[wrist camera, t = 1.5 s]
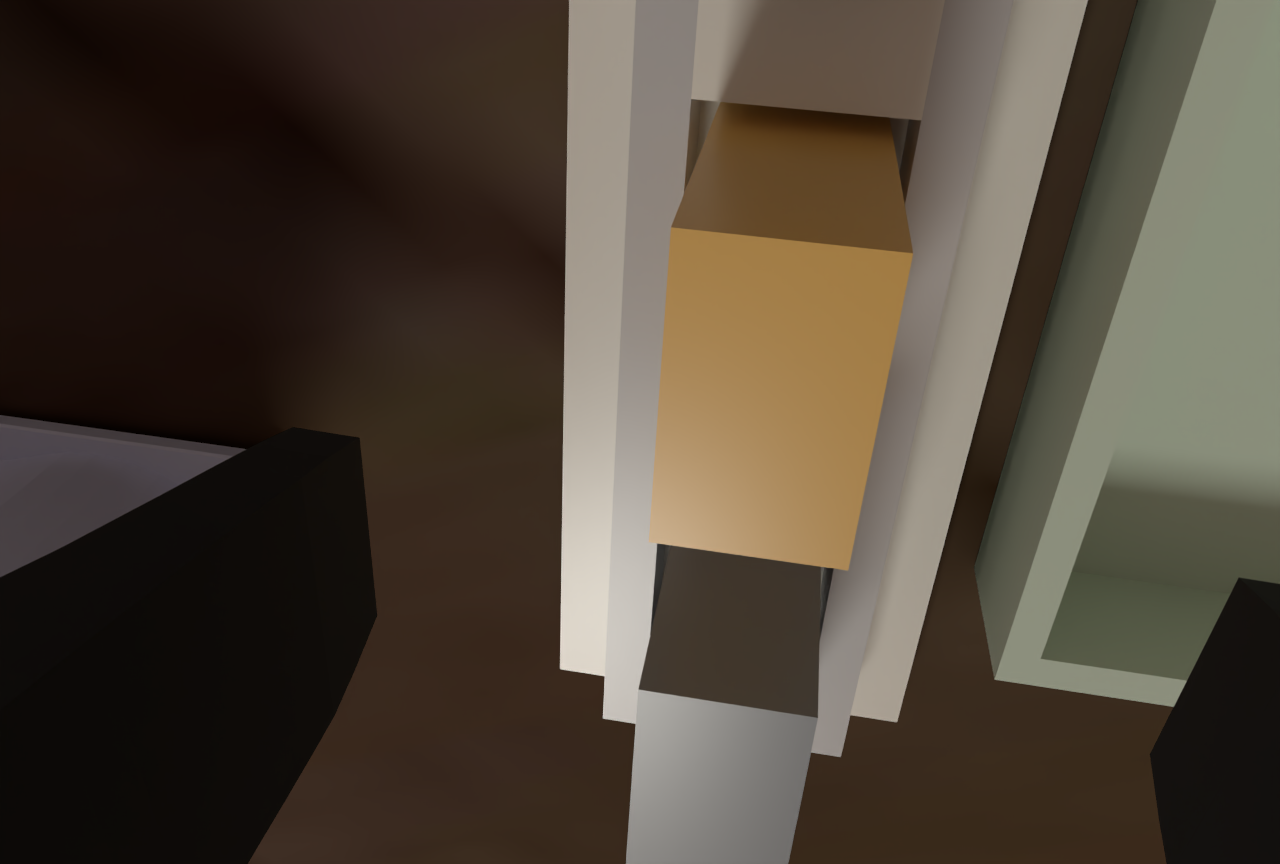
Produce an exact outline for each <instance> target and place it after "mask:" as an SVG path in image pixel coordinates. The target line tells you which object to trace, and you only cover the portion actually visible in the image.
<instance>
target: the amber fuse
mask: <svg viewBox="0 0 1280 864" xmlns="http://www.w3.org/2000/svg"><path fill="white" fill-rule="evenodd" d="M912 257H913V249H912V243H911V238H910V232H909V226H908V220H907V215H906V209H905V203H904V198H903V192H902V186H901V180H900V175H899V169H898V163H897V158H896V152H895V146H894V140H893V135H892V129H891V123H890V118H889V117H879V116H868V115H857V114H846V113H836V112H825V111H814V110H804V109H793V108H782V107H771V106H761V105H750V104H739V103H728V102H720V104H719V107H718V109H717V112H716V114H715V117H714V119H713V122H712V124H711V127H710V129H709V132H708V134H707V137H706V140H705V142H704V145H703V147H702V150H701V152H700V155H699V157H698V160H697V162H696V165H695V167H694V170H693V172H692V175H691V178H690V180H689V183H688V185H687V188H686V190H685V193H684V195H683V198H682V200H681V203H680V205H679V208H678V210H677V213H676V216H675V218H674V221H673V223H672V226H671V232H670V246H669V260H668V275H667V289H666V303H665V317H664V331H663V345H662V360H661V374H660V388H659V402H658V416H657V431H656V445H655V459H654V473H653V487H652V501H651V516H650V530H649V542H651V543H658V544H665V545H672V546H679V547H686V548H693V549H700V550H707V551H714V552H721V553H728V554H735V555H742V556H749V557H756V558H763V559H770V560H777V561H784V562H791V563H798V564H805V565H812V566H820V567H827V568H834V569H841V570H848V569H849V564H850V560H851V555H852V550H853V545H854V540H855V535H856V530H857V525H858V521H859V516H860V511H861V506H862V501H863V496H864V491H865V486H866V482H867V477H868V472H869V467H870V462H871V457H872V452H873V447H874V443H875V438H876V433H877V428H878V423H879V418H880V413H881V408H882V404H883V399H884V394H885V389H886V384H887V379H888V374H889V369H890V365H891V360H892V355H893V350H894V345H895V340H896V335H897V330H898V326H899V321H900V316H901V311H902V306H903V301H904V296H905V291H906V287H907V282H908V277H909V272H910V267H911V262H912Z"/></svg>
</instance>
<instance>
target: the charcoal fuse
mask: <svg viewBox="0 0 1280 864" xmlns="http://www.w3.org/2000/svg"><path fill="white" fill-rule="evenodd" d="M820 588H821V567H820V566H812V565H805V564H798V563H791V562H784V561H777V560H770V559H763V558H756V557H749V556H742V555H735V554H728V553H721V552H714V551H707V550H700V549H693V548H686V547H679V546H672V545H671V546H670V550H669V555H668V559H667V564H666V568H665V572H664V577H663V581H662V586H661V590H660V595H659V599H658V604H657V608H656V613H655V617H654V621H653V626H652V630H651V635H650V639H649V644H648V648H647V653H646V657H645V662H644V666H643V670H642V675H641V679H640V684H639V688H638V700H637V714H636V728H635V742H634V757H633V771H632V785H631V799H630V813H629V827H628V842H627V856H626V864H788V862H789V857H790V852H791V847H792V842H793V837H794V832H795V828H796V823H797V818H798V813H799V808H800V803H801V798H802V793H803V789H804V784H805V779H806V774H807V769H808V764H809V759H810V754H811V750H812V745H813V740H814V735H815V730H816V725H817V720H818V691H819V639H820Z"/></svg>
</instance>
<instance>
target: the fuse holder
mask: <svg viewBox="0 0 1280 864" xmlns="http://www.w3.org/2000/svg"><path fill="white" fill-rule="evenodd" d="M1087 1H1088V0H569V55H568V129H567V202H566V275H565V348H564V421H563V494H562V567H561V640H560V669H563V670H569V671H576V672H582V673H588V674H595V675H601V676H605V684H604V706H603V718H604V719H610V720H616V721H622V722H628V723H635V724H636V714H637V700H638V688H639V684H640V679H641V675H642V670H643V666H644V662H645V657H646V653H647V648H648V644H649V639H650V635H651V630H652V626H653V621H654V617H655V613H656V608H657V604H658V599H659V595H660V590H661V586H662V581H663V577H664V572H665V568H666V564H667V559H668V555H669V550H670V546H671V545H665V544H658V543H651V542H649V530H650V516H651V501H652V487H653V473H654V459H655V445H656V431H657V416H658V402H659V388H660V374H661V360H662V345H663V331H664V317H665V303H666V289H667V275H668V260H669V246H670V232H671V226H672V223H673V221H674V218H675V216H676V213H677V210H678V208H679V205H680V203H681V200H682V198H683V195H684V193H685V190H686V188H687V185H688V183H689V180H690V178H691V175H692V172H693V170H694V167H695V165H696V162H697V160H698V157H699V155H700V152H701V150H702V147H703V145H704V142H705V140H706V137H707V134H708V132H709V129H710V127H711V124H712V122H713V119H714V117H715V114H716V112H717V109H718V107H719V104H720V102H728V103H739V104H750V105H761V106H771V107H782V108H793V109H804V110H814V111H825V112H836V113H846V114H857V115H868V116H879V117H889V118H890V123H891V129H892V135H893V140H894V146H895V152H896V158H897V163H898V169H899V175H900V180H901V186H902V192H903V198H904V203H905V209H906V215H907V220H908V226H909V232H910V238H911V243H912V249H913V257H912V262H911V267H910V272H909V277H908V282H907V287H906V291H905V296H904V301H903V306H902V311H901V316H900V321H899V326H898V330H897V335H896V340H895V345H894V350H893V355H892V360H891V365H890V369H889V374H888V379H887V384H886V389H885V394H884V399H883V404H882V408H881V413H880V418H879V423H878V428H877V433H876V438H875V443H874V447H873V452H872V457H871V462H870V467H869V472H868V477H867V482H866V486H865V491H864V496H863V501H862V506H861V511H860V516H859V521H858V525H857V530H856V535H855V540H854V545H853V550H852V555H851V560H850V564H849V569H848V570H841V569H834V568H827V567H821V588H820V639H819V691H818V720H817V725H816V730H815V735H814V740H813V745H812V750H811V752H813V753H819V754H825V755H831V756H837V757H841V754H842V749H843V745H844V740H845V736H846V732H847V727H848V723H849V719H850V715H854V716H860V717H867V718H873V719H879V720H886V721H892V722H897V720H898V716H899V712H900V709H901V705H902V701H903V697H904V693H905V690H906V686H907V682H908V678H909V675H910V671H911V667H912V663H913V659H914V656H915V652H916V648H917V644H918V640H919V637H920V633H921V629H922V625H923V622H924V618H925V614H926V610H927V606H928V603H929V599H930V595H931V591H932V588H933V584H934V580H935V576H936V572H937V569H938V565H939V561H940V557H941V553H942V550H943V546H944V542H945V538H946V535H947V531H948V527H949V523H950V519H951V516H952V512H953V508H954V504H955V501H956V497H957V493H958V489H959V485H960V482H961V478H962V474H963V470H964V466H965V463H966V459H967V455H968V451H969V448H970V444H971V440H972V436H973V432H974V429H975V425H976V421H977V417H978V414H979V410H980V406H981V402H982V398H983V395H984V391H985V387H986V383H987V380H988V376H989V372H990V368H991V364H992V361H993V357H994V353H995V349H996V345H997V342H998V338H999V334H1000V330H1001V327H1002V323H1003V319H1004V315H1005V311H1006V308H1007V304H1008V300H1009V296H1010V293H1011V289H1012V285H1013V281H1014V277H1015V274H1016V270H1017V266H1018V262H1019V258H1020V255H1021V251H1022V247H1023V243H1024V240H1025V236H1026V232H1027V228H1028V224H1029V221H1030V217H1031V213H1032V209H1033V206H1034V202H1035V198H1036V194H1037V190H1038V187H1039V183H1040V179H1041V175H1042V172H1043V168H1044V164H1045V160H1046V156H1047V153H1048V149H1049V145H1050V141H1051V137H1052V134H1053V130H1054V126H1055V122H1056V119H1057V115H1058V111H1059V107H1060V103H1061V100H1062V96H1063V92H1064V88H1065V85H1066V81H1067V77H1068V73H1069V69H1070V66H1071V62H1072V58H1073V54H1074V50H1075V47H1076V43H1077V39H1078V35H1079V32H1080V28H1081V24H1082V20H1083V16H1084V13H1085V9H1086V5H1087Z"/></svg>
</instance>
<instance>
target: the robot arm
mask: <svg viewBox="0 0 1280 864" xmlns="http://www.w3.org/2000/svg"><path fill="white" fill-rule="evenodd" d="M376 617H377V610H376V600H375V590H374V579H373V569H372V559H371V549H370V539H369V529H368V519H367V509H366V499H365V489H364V479H363V468H362V458H361V448H360V438H358V437H351V436H345V435H339V434H332V433H326V432H320V431H313V430H307V429H301V428H295V427H293V428H290V429H288V430H286V431H284V432H281V433H279V434H277V435H275V436H272V437H270V438H268V439H266V440H264V441H262V442H260V443H258V444H256V445H254V446H252V447H250V448H248V449H242V448H235V447H227V446H220V445H213V444H206V443H199V442H191V441H184V440H177V439H170V438H162V437H155V436H148V435H141V434H134V433H126V432H119V431H112V430H105V429H97V428H90V427H83V426H76V425H69V424H61V423H54V422H47V421H40V420H32V419H25V418H18V417H11V416H3V415H0V864H248V862H249V861H250V859H251V857H252V855H253V854H254V852H255V850H256V849H257V847H258V845H259V844H260V842H261V840H262V839H263V837H264V835H265V834H266V832H267V830H268V829H269V827H270V825H271V824H272V822H273V820H274V818H275V817H276V815H277V813H278V812H279V810H280V808H281V807H282V805H283V803H284V802H285V800H286V798H287V797H288V795H289V793H290V792H291V790H292V788H293V786H294V785H295V783H296V781H297V780H298V778H299V776H300V774H301V773H302V771H303V769H304V768H305V766H306V764H307V762H308V761H309V759H310V757H311V756H312V754H313V752H314V750H315V749H316V747H317V745H318V744H319V742H320V740H321V738H322V737H323V735H324V733H325V731H326V730H327V728H328V726H329V724H330V723H331V721H332V719H333V717H334V715H335V713H336V711H337V709H338V706H339V704H340V702H341V700H342V697H343V695H344V693H345V691H346V688H347V686H348V684H349V682H350V679H351V677H352V675H353V673H354V670H355V668H356V666H357V663H358V661H359V658H360V656H361V653H362V651H363V649H364V646H365V644H366V641H367V639H368V636H369V634H370V632H371V629H372V627H373V624H374V622H375V619H376ZM1150 757H1151V765H1152V772H1153V779H1154V786H1155V793H1156V800H1157V808H1158V815H1159V822H1160V827H1161V833H1162V839H1163V845H1164V851H1165V856H1166V862H1167V864H1280V584H1277V583H1271V582H1265V581H1258V580H1252V579H1246V578H1240V577H1239V578H1238V580H1237V582H1236V584H1235V586H1234V588H1233V590H1232V592H1231V594H1230V596H1229V598H1228V600H1227V602H1226V604H1225V606H1224V608H1223V610H1222V612H1221V614H1220V616H1219V618H1218V620H1217V622H1216V624H1215V626H1214V628H1213V630H1212V632H1211V634H1210V636H1209V638H1208V640H1207V642H1206V644H1205V646H1204V648H1203V650H1202V652H1201V654H1200V656H1199V658H1198V660H1197V662H1196V664H1195V666H1194V668H1193V670H1192V672H1191V674H1190V676H1189V678H1188V680H1187V682H1186V684H1185V686H1184V688H1183V690H1182V692H1181V694H1180V696H1179V698H1178V700H1177V702H1176V704H1175V706H1174V708H1173V710H1172V712H1171V714H1170V716H1169V717H1168V719H1167V721H1166V723H1165V725H1164V727H1163V729H1162V731H1161V733H1160V735H1159V737H1158V739H1157V741H1156V743H1155V745H1154V747H1153V749H1152V751H1151V753H1150Z"/></svg>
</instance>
